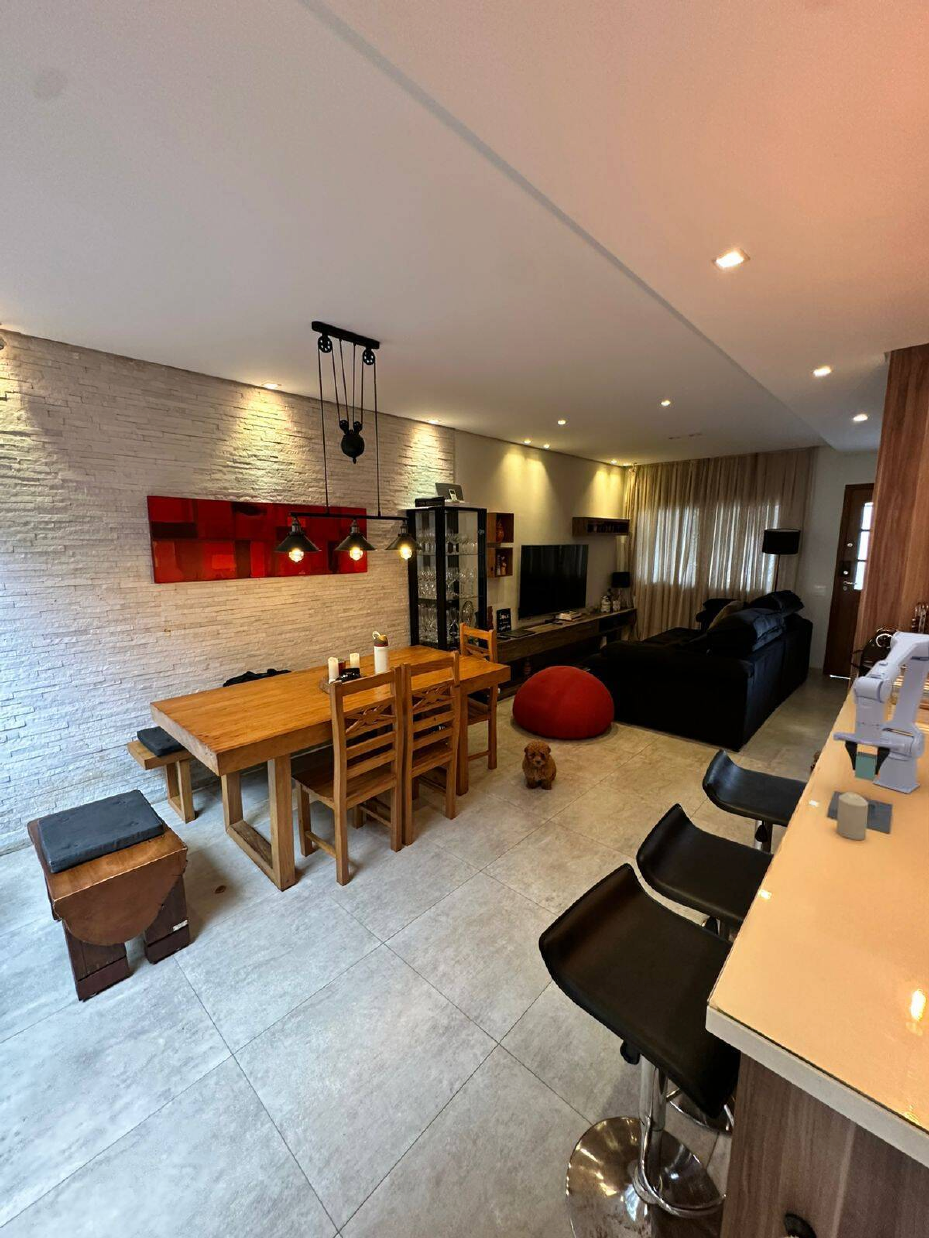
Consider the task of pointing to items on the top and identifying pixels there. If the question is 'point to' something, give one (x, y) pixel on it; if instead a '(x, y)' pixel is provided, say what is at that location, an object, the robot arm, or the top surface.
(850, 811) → the candle
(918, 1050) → the top surface
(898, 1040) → the top surface
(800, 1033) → the top surface
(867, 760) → the peg block
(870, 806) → the square hole plate
